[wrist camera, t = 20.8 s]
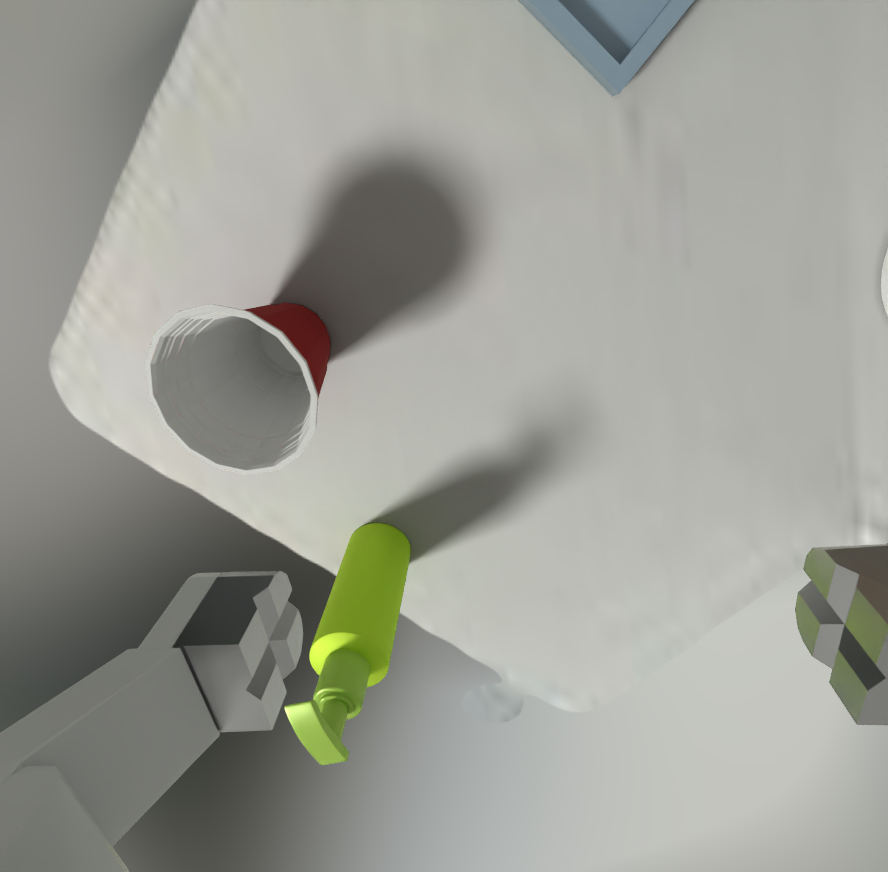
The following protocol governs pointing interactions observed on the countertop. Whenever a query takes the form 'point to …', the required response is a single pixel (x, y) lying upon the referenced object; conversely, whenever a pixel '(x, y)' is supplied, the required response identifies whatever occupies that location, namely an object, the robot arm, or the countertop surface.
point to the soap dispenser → (353, 638)
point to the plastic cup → (239, 383)
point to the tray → (609, 32)
